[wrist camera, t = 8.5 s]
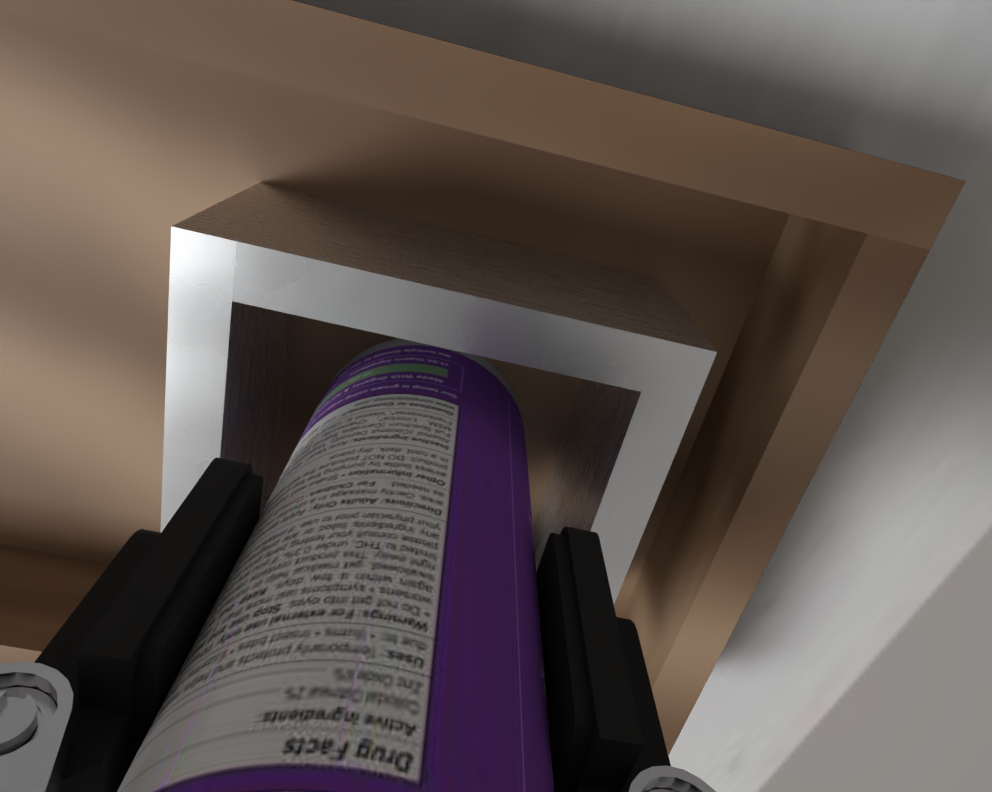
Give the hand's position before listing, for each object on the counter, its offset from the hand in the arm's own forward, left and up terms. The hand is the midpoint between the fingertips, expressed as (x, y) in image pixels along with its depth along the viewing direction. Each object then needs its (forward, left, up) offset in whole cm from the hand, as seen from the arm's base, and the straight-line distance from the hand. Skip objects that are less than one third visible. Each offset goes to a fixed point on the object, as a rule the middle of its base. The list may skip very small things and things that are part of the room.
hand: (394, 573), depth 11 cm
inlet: (0, 0, -7) cm, 7 cm away
